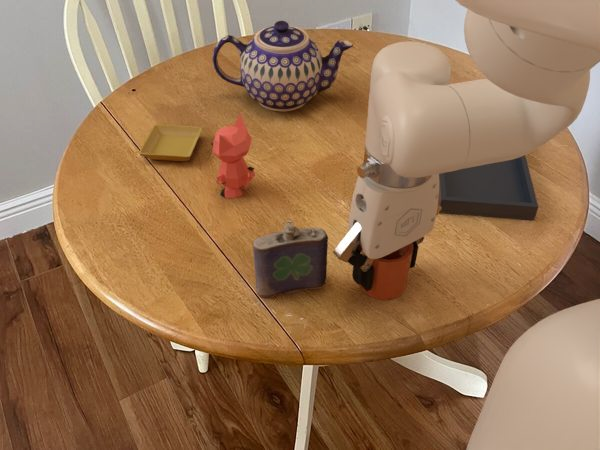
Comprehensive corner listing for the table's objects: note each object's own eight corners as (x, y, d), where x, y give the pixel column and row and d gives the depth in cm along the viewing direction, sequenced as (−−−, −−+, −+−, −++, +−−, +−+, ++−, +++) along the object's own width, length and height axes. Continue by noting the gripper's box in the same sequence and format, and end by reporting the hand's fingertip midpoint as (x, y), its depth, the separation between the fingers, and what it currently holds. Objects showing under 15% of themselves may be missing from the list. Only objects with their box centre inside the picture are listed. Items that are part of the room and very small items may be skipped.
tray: (533, 220, 85) (538, 206, 83) (438, 212, 86) (441, 199, 84) (507, 110, 106) (510, 97, 104) (431, 105, 107) (433, 93, 106)
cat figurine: (229, 170, 94) (221, 106, 85) (267, 181, 92) (263, 116, 83) (206, 197, 89) (195, 131, 81) (245, 209, 87) (239, 142, 79)
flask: (258, 300, 74) (253, 240, 67) (254, 283, 76) (249, 223, 69) (328, 287, 76) (331, 227, 68) (322, 271, 78) (324, 211, 70)
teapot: (209, 116, 105) (199, 38, 95) (224, 75, 116) (217, 1, 106) (348, 122, 103) (353, 44, 93) (351, 80, 114) (355, 5, 104)
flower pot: (416, 287, 76) (423, 249, 71) (378, 307, 73) (383, 270, 68) (386, 257, 79) (391, 220, 75) (349, 276, 77) (352, 238, 72)
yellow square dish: (140, 163, 95) (137, 153, 94) (156, 133, 101) (154, 123, 100) (191, 167, 94) (190, 157, 93) (205, 136, 101) (203, 126, 99)
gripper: (355, 208, 57) (346, 321, 69) (482, 150, 64) (454, 263, 76) (312, 169, 62) (311, 281, 74) (435, 119, 68) (415, 229, 81)
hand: (383, 271), depth 75 cm, fingers closed on flower pot, 6 cm apart
